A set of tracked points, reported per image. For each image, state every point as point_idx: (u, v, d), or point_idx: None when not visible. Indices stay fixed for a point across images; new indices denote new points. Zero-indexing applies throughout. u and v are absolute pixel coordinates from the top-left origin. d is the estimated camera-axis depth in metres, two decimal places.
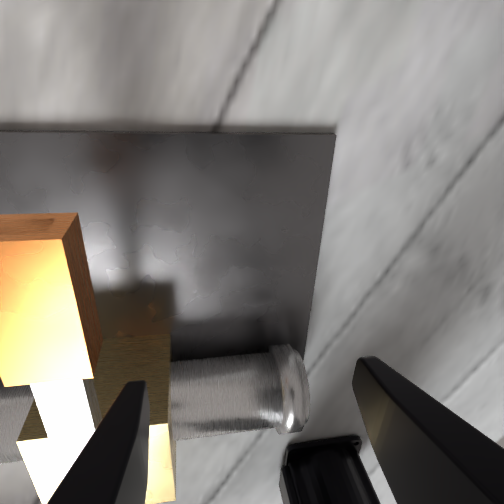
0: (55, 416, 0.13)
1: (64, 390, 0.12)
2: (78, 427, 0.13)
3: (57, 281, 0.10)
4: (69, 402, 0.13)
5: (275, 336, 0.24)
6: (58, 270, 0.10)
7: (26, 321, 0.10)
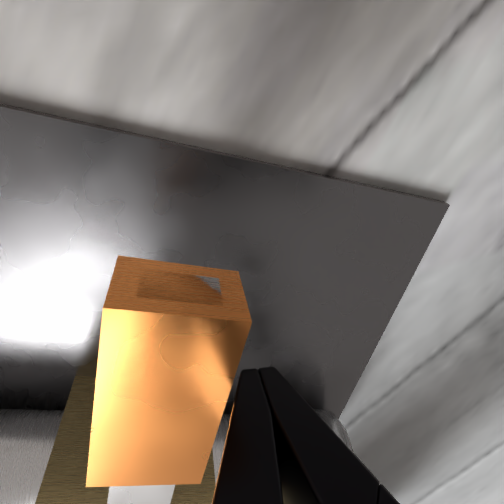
0: None
1: (149, 489, 0.09)
2: None
3: (219, 371, 0.07)
4: (148, 502, 0.10)
5: (315, 399, 0.22)
6: (227, 358, 0.07)
7: (154, 413, 0.08)
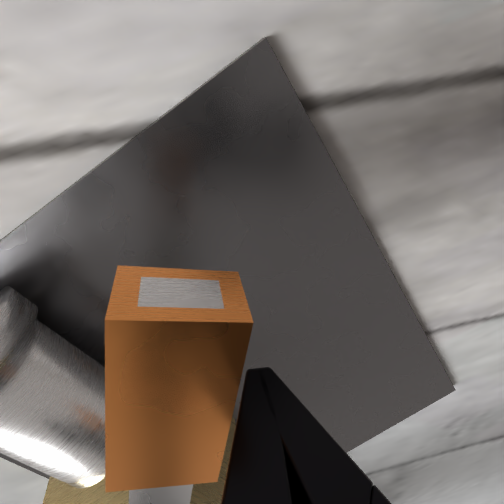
0: None
1: (168, 490, 0.10)
2: None
3: (225, 372, 0.07)
4: (168, 502, 0.10)
5: None
6: (232, 359, 0.07)
7: (166, 418, 0.08)
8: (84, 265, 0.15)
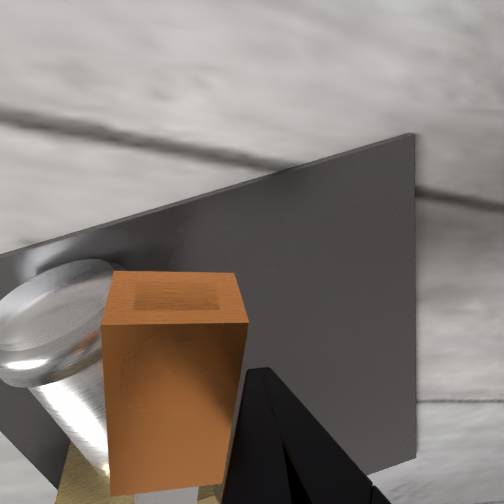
0: None
1: (174, 492, 0.10)
2: None
3: (223, 373, 0.07)
4: None
5: None
6: (230, 360, 0.07)
7: (167, 420, 0.08)
8: (185, 263, 0.16)
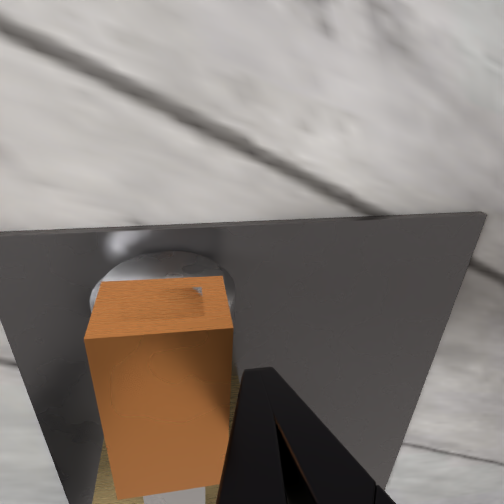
0: None
1: (181, 493, 0.10)
2: None
3: (214, 378, 0.07)
4: None
5: None
6: (218, 365, 0.07)
7: (162, 426, 0.08)
8: (266, 276, 0.17)
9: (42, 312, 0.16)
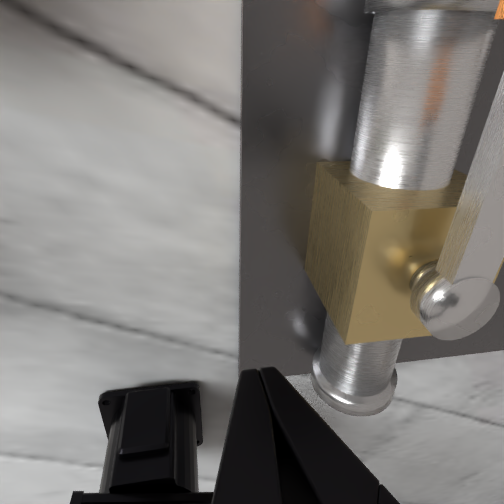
0: None
1: None
2: None
3: None
4: None
5: None
6: None
7: None
8: None
9: (282, 42, 0.15)
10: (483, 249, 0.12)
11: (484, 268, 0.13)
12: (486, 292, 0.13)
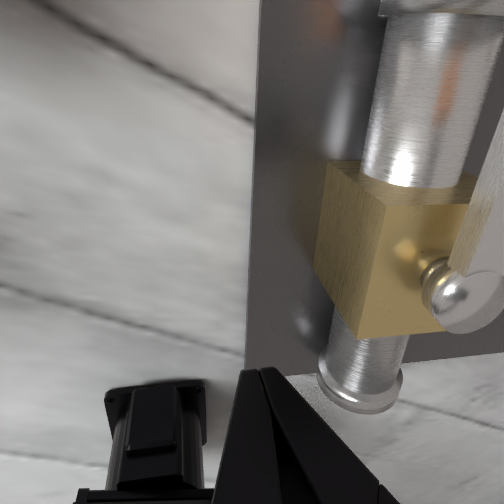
0: None
1: None
2: None
3: None
4: None
5: None
6: None
7: None
8: None
9: (297, 43, 0.16)
10: (495, 243, 0.13)
11: (495, 262, 0.13)
12: (497, 286, 0.13)
